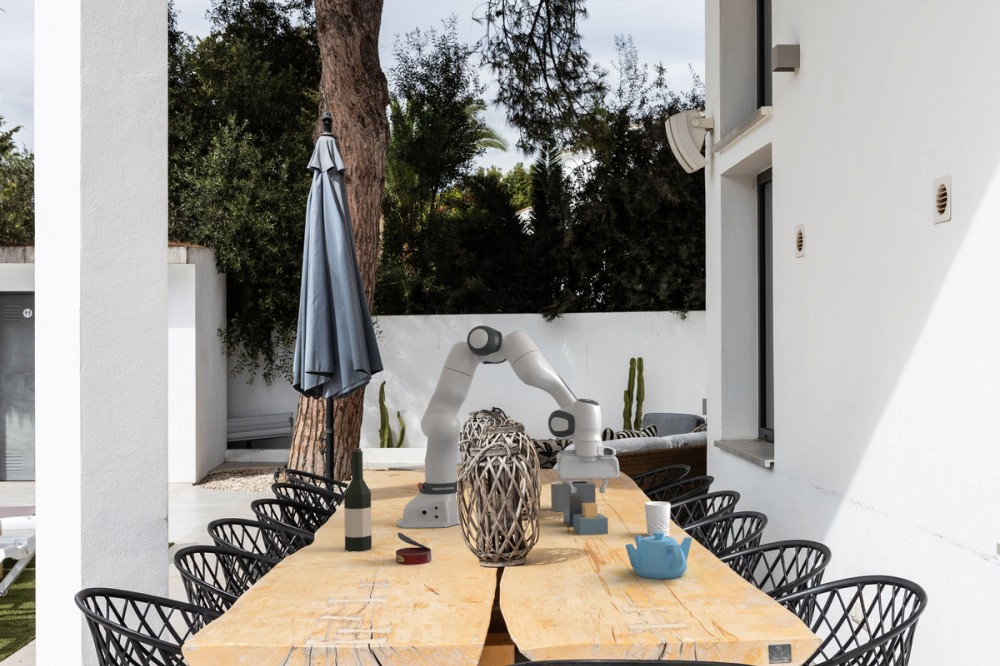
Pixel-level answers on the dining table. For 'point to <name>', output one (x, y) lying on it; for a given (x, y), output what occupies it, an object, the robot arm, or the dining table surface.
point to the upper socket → (576, 499)
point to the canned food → (412, 553)
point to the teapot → (659, 556)
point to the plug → (589, 510)
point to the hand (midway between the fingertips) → (588, 492)
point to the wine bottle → (357, 508)
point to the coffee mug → (557, 496)
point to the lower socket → (590, 525)
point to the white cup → (657, 517)
